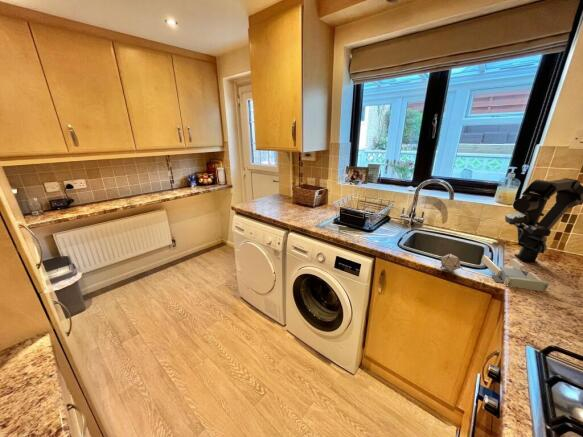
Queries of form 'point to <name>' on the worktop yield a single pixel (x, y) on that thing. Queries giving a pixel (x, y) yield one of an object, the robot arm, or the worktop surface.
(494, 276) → the block
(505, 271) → the slate block
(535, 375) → the worktop surface
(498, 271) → the trap lane
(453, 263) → the game die
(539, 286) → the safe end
